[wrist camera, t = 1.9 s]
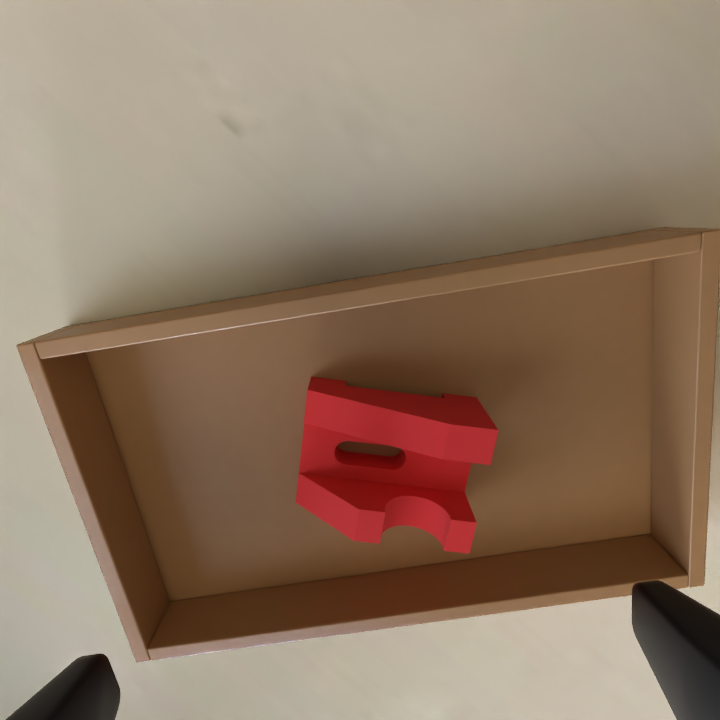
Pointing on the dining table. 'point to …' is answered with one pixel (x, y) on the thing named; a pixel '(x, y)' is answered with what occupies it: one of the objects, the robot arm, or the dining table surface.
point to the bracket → (392, 461)
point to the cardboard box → (398, 374)
